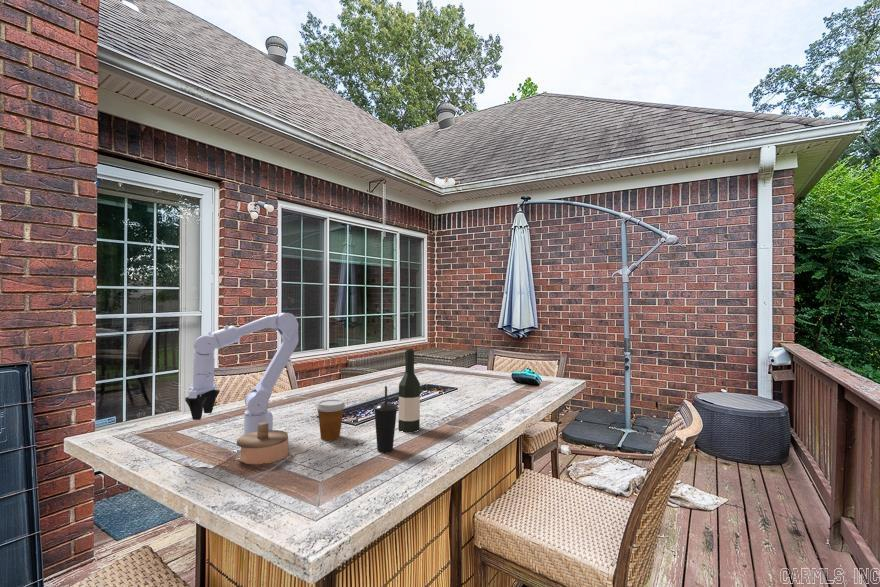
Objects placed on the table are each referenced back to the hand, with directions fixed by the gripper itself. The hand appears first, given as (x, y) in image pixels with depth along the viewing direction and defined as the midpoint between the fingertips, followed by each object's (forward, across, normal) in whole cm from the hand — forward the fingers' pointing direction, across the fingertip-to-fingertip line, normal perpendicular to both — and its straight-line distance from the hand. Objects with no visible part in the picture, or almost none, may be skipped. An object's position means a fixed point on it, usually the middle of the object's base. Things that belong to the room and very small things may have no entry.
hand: (202, 416), depth 126 cm
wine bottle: (+10, -12, +66) cm, 68 cm away
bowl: (+10, +10, +22) cm, 26 cm away
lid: (+5, +10, +21) cm, 24 cm away
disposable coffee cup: (+10, -6, +39) cm, 41 cm away
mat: (+10, +10, +7) cm, 16 cm away
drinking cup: (+10, +8, +58) cm, 59 cm away
